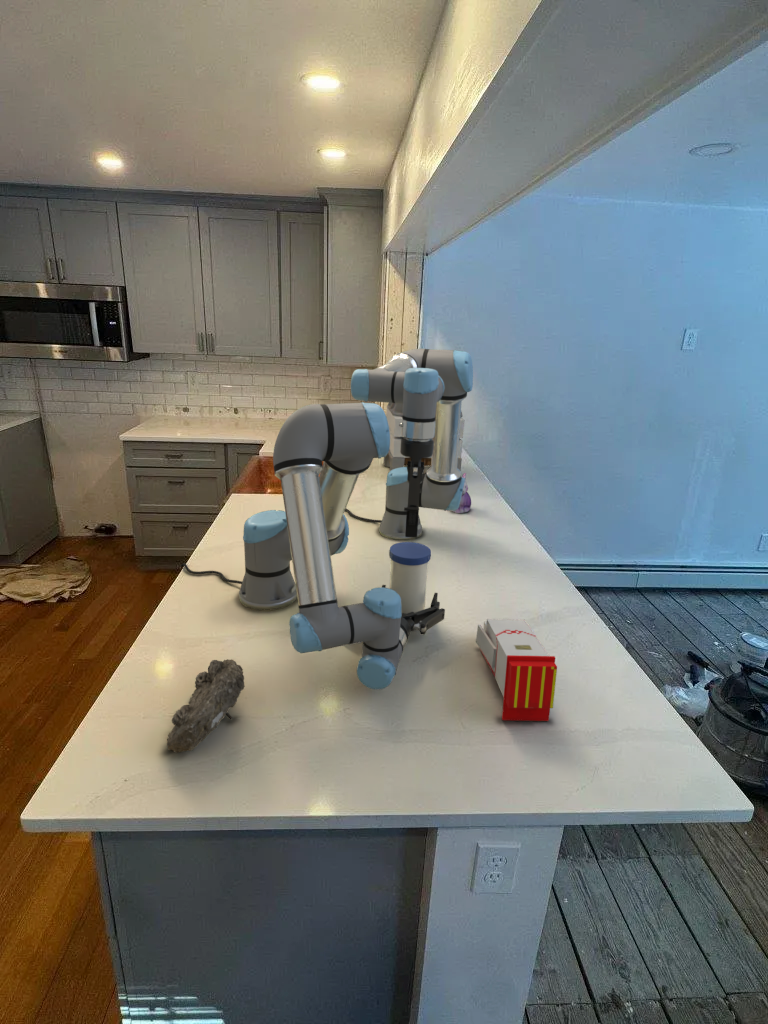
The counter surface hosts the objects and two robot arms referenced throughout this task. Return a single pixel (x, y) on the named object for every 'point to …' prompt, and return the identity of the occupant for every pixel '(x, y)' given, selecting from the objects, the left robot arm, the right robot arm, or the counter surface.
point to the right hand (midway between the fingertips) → (411, 527)
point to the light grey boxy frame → (394, 419)
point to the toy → (519, 668)
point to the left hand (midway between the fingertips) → (409, 593)
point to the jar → (409, 585)
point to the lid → (410, 553)
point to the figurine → (464, 499)
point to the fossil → (206, 705)
